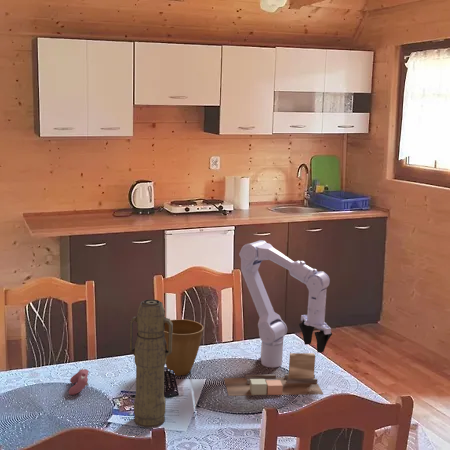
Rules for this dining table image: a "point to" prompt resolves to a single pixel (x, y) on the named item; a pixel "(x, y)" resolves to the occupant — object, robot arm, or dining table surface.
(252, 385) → the offcut sage
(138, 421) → the thermos
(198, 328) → the plant pot
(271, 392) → the offcut terracotta
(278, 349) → the robot arm
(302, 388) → the walnut rack
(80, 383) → the red curved piece
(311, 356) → the birch sheet
